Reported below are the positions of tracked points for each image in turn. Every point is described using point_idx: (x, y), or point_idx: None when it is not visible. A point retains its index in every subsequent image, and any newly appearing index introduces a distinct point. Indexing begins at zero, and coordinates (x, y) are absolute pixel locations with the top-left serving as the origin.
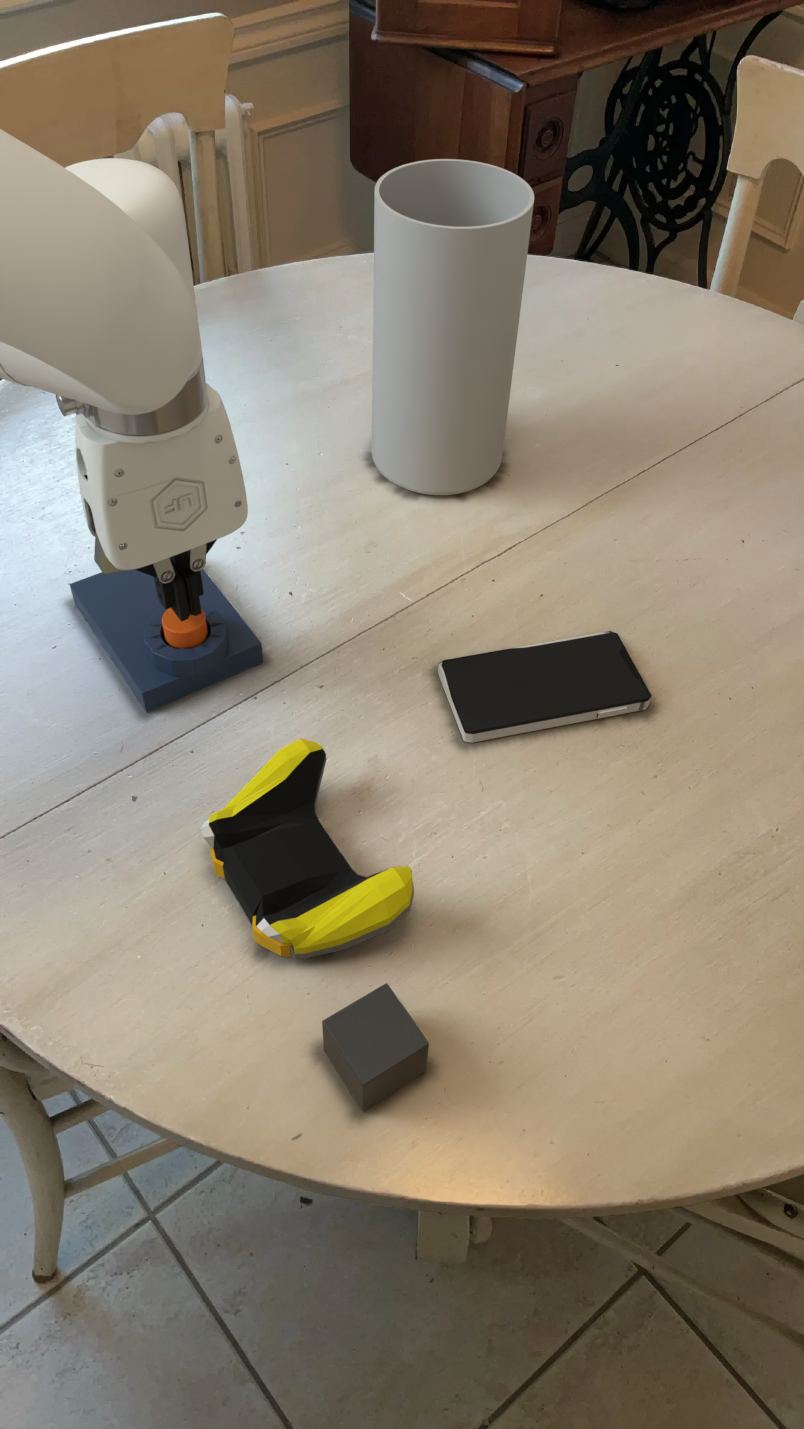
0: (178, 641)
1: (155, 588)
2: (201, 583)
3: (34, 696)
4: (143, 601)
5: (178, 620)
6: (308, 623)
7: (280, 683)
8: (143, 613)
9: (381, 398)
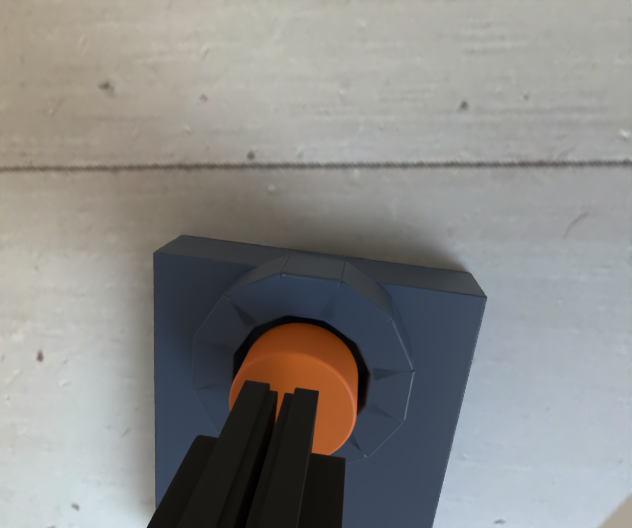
0: (342, 356)
1: None
2: (178, 475)
3: (615, 450)
4: None
5: None
6: (44, 267)
7: (181, 157)
8: None
9: None
